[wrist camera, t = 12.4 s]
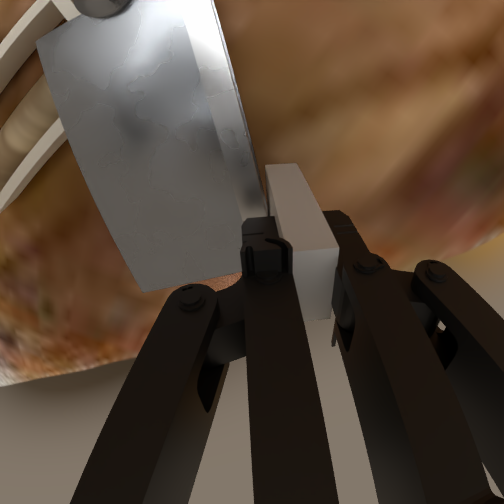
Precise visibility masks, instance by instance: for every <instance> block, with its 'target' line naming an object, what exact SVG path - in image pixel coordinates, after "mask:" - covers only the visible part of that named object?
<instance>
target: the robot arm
mask: <svg viewBox="0 0 504 504" xmlns="http://www.w3.org/2000/svg"><path fill="white" fill-rule="evenodd" d="M265 174H266V192H267V211H268V216H266V217H254V218H247V219H246V220H245V221H244V223H243V224H242V226H241V229H242V247H241V250H240V258H241V267H242V276H241V278H240V279H239V280H238V281H237V282H236V283H235V284H233V285H232V286H230V287H228V288H226V289H223V290H220V291H217V292H215V291H214V290H213V289H212V288H210V287H209V286H207V285H203V284H189V285H185V286H182V287H180V288H178V289H177V290H175V291H173V292H172V294H171V295H170V296H169V297H168V299H167V301H166V302H165V304H164V306H163V308H162V310H161V312H160V314H159V315H158V317H157V319H156V321H155V323H154V325H153V327H152V329H151V331H150V333H149V335H148V336H147V338H146V340H145V342H144V344H143V346H142V348H141V350H140V352H139V354H138V356H137V358H136V360H135V362H134V364H133V366H132V368H131V370H130V372H129V374H128V376H127V378H126V380H125V382H124V384H123V386H122V388H121V391H120V392H119V394H118V397H117V399H116V401H115V403H114V405H113V407H112V409H111V411H110V413H109V415H108V418H107V420H106V422H105V424H104V426H103V428H102V431H101V433H100V435H99V437H98V439H97V442H96V444H95V446H94V449H93V450H92V453H91V455H90V457H89V459H88V462H87V464H86V466H85V469H84V471H83V473H82V476H81V478H80V480H79V483H78V485H77V488H76V490H75V492H74V495H73V497H72V500H71V502H70V504H188V501H189V498H190V495H191V492H192V488H193V485H194V482H195V478H196V475H197V472H198V469H199V465H200V462H201V458H202V455H203V452H204V449H205V445H206V442H207V439H208V435H209V432H210V428H211V425H212V422H213V419H214V415H215V412H216V408H217V405H218V402H219V398H220V395H221V392H222V388H223V385H224V381H225V378H226V375H227V371H228V368H229V362H231V361H234V360H237V359H239V358H242V357H245V356H246V361H247V382H248V401H249V421H250V440H251V457H252V475H253V491H254V504H339V501H338V495H337V489H336V483H335V477H334V471H333V466H332V461H331V454H330V449H329V443H328V439H327V433H326V427H325V422H324V417H323V412H322V407H321V402H320V397H319V392H318V387H317V382H316V377H315V372H314V368H313V363H312V358H311V353H310V348H309V344H308V339H307V334H306V330H305V325H304V322H305V321H314V320H322V319H330V317H331V310H332V308H333V311H334V314H335V317H336V318H335V324H334V330H333V335H332V341H331V342H332V347H333V346H335V343H336V339H337V342H338V345H339V348H340V352H341V355H342V359H343V362H344V366H345V369H346V373H347V376H348V380H349V383H350V387H351V391H352V394H353V398H354V402H355V406H356V409H357V413H358V417H359V421H360V425H361V429H362V433H363V437H364V440H365V445H366V449H367V453H368V457H369V462H370V466H371V470H372V474H373V479H374V483H375V488H376V493H377V498H378V502H379V504H504V499H503V498H501V497H498V496H496V495H495V494H494V493H493V492H492V491H491V489H490V486H489V483H488V480H487V477H486V473H485V471H484V467H483V464H484V466H485V467H486V469H487V470H488V472H489V473H490V475H491V477H492V479H493V480H494V482H495V483H496V485H497V487H498V488H499V490H500V492H501V493H502V495H503V497H504V320H503V318H501V316H500V315H499V314H498V313H497V312H496V311H495V310H494V309H493V308H492V307H491V306H490V305H489V304H488V303H487V302H486V301H485V300H484V299H483V298H482V297H481V296H480V295H479V294H478V293H477V292H476V291H475V290H474V289H473V288H472V287H471V286H470V285H469V284H468V283H466V282H465V281H464V280H463V279H462V278H461V277H460V276H459V275H458V274H457V273H456V272H455V271H454V270H452V269H451V268H450V267H449V266H447V265H446V264H444V263H442V262H439V261H436V260H423V261H421V262H419V263H418V264H417V266H416V268H415V271H414V272H406V271H398V270H393V269H391V268H390V266H389V265H388V263H387V262H386V261H385V260H384V259H383V258H382V257H380V256H378V255H376V254H373V253H370V251H369V250H368V248H367V246H366V245H365V243H364V241H363V239H362V238H361V236H360V234H359V233H358V232H357V229H356V228H355V226H354V224H353V223H352V221H351V219H350V218H349V216H347V215H346V214H344V213H343V212H341V211H340V210H334V211H321V209H320V207H319V205H318V203H317V201H316V199H315V197H314V195H313V193H312V191H311V189H310V187H309V185H308V183H307V182H306V180H305V178H304V176H303V174H302V172H301V170H300V168H299V166H298V165H297V163H287V164H271V165H265ZM440 320H441V321H442V323H443V324H444V325H445V326H446V328H445V330H444V331H443V330H441V329H440V328H439V327H438V323H439V322H440ZM482 463H483V464H482Z"/></svg>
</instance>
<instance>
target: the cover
mask: <svg viewBox="0 0 504 504" xmlns="http://www.w3.org/2000/svg"><path fill="white" fill-rule="evenodd" d="M73 1H74V5H75V7H76V9H77V10H78V11H79V12H80V13H81V14H80V15H79V16H77V17H75V18H73V19H71V20H69V21H68V22H66V23H64V24H62V25H61V26H59V27H57V28H56V29H54V30H52V31H51V32H49V33H48V34H46V35H44V36H43V37H41V38H40V39H38V40H37V41H35V42H36V46H37V50H38V53H39V57H40V60H41V64H42V67H43V70H44V74H45V77H46V80H47V83H48V86H49V89H50V92H51V95H52V98H53V101H54V104H55V107H56V109H57V112H58V115H59V118H60V120H61V123H62V126H63V128H64V131H65V133H66V136H67V139H68V141H69V144H70V146H71V149H72V151H73V153H74V156H75V158H76V161H77V163H78V165H79V168H80V170H81V172H82V175H83V177H84V179H85V181H86V184H87V186H88V188H89V190H90V192H91V194H92V197H93V199H94V201H95V203H96V205H97V207H98V209H99V211H100V213H101V216H102V218H103V220H104V222H105V224H106V226H107V228H108V230H109V232H110V234H111V236H112V237H113V239H114V241H115V243H116V245H117V247H118V249H119V251H120V253H121V255H122V256H123V258H124V260H125V262H126V264H127V266H128V267H129V269H130V271H131V273H132V275H133V276H134V278H135V280H136V282H137V284H138V285H139V287H140V289H141V290H142V292H143V293H145V292H149V291H154V290H159V289H164V288H168V287H173V286H178V285H183V284H187V283H192V282H197V281H201V280H206V279H210V278H215V277H220V276H224V275H229V274H233V273H238V272H242V267H241V258H240V250H241V247H242V229H241V226H242V224H243V223H244V221H245V220H246V219H247V218H254V217H266V216H268V211H267V203H266V199H265V194H264V190H263V186H262V182H261V178H260V174H259V170H258V166H257V162H256V158H255V154H254V150H253V146H252V142H251V138H250V134H249V130H248V126H247V122H246V118H245V114H244V110H243V106H242V103H241V99H240V95H239V91H238V87H237V84H236V80H235V76H234V72H233V69H232V65H231V61H230V58H229V54H228V50H227V47H226V43H225V39H224V36H223V32H222V29H221V25H220V21H219V18H218V14H217V11H216V7H215V4H214V0H73Z"/></svg>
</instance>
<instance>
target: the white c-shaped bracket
mask: <svg viewBox="0 0 504 504" xmlns="http://www.w3.org/2000/svg"><path fill="white" fill-rule="evenodd" d="M80 14H81V13H80V12H79V11H78V10H77V9H76V7H75V5H74V1H73V0H37V1H36V2H35V3H34V4H33V5H32V6H31V7H30V8H29V10H28V11H27V12H26V13H25V14H24V15H23V16H22V18H21V19H20V20H19V21H18V22H17V24H16V25H15V26H14V27H13V28H12V30H11V31H10V32H9V33H8V35H7V36H6V37H5V39H4V40H3V41H2V42H1V44H0V94H1V93H2V91H3V90H4V88H5V87H6V86H7V84H8V83H9V81H10V80H11V79H12V77H13V76H14V75H15V73H16V72H17V71H18V70H19V68H20V67H21V66H22V65H23V63H24V62H25V61H26V60H27V58H28V57H29V56H30V55H31V54H32V53H33V51H34V50H35V49H36V48H37V46H36V42H35V41H37V40H38V39H40V38H41V37H43V36H44V35H46V34H48V33H49V32H51V31H52V30H53V29H54V28H55V27H56V26H57V25H58V24H59V23H60V22H61V21H62V20H63V19H64V18H66V20H67V21H69V20H71V19H73V18H75V17H77V16H79V15H80ZM66 139H67V136H66V133H65V131H64V128H63V126H62V123H61V120H60V118H58V119H57V120H56V121H55V123H54V124H53V125H52V126H51V127H50V128H49V129H48V130H47V132H46V133H45V134H44V135H43V136H42V138H41V139H40V140H39V141H38V142H37V144H36V145H35V146H34V147H33V148H32V150H31V151H30V152H29V153H28V155H27V156H26V157H25V159H24V160H23V161H22V163H21V164H20V165H19V167H18V168H17V169H16V171H15V172H14V173H13V175H12V176H11V177H10V179H9V180H8V182H7V183H6V185H5V186H4V188H3V189H2V190H1V192H0V213H1V212H2V211H3V210H4V209H5V208H6V207H7V206H9V205H10V204H11V203H12V202H13V201H14V200H15V199H16V198H17V197H18V196H19V195H20V193H21V192H22V191H23V190H24V188H25V187H26V186H27V184H28V183H29V182H30V181H31V179H32V178H33V177H34V176H35V175H36V173H37V172H38V171H39V170H40V169H41V167H42V166H43V165H44V164H45V163H46V162H47V160H48V159H49V158H50V157H51V156H52V155H53V154H54V152H55V151H56V150H57V149H58V148H59V147H60V146H61V145H62V144H63V143H64V142H65V141H66Z"/></svg>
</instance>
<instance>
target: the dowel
mask: <svg viewBox="0 0 504 504" xmlns="http://www.w3.org/2000/svg"><path fill="white" fill-rule="evenodd" d="M58 118H59V115H58V112H57V109H56V107H55V104H54V101H53V98H52V95H51V92H50V89H49V86H48V83H47V80H46V77H45V74H43V75H42V76H41V77H40V79H39V80H38V81H37V82H36V83H35V85H34V86H33V87H32V88H31V89H30V91H29V92H28V93H27V94H26V96H25V97H24V98H23V99H22V101H21V102H20V103H19V105H18V106H17V107H16V109H15V110H14V111H13V113H12V114H11V116H10V117H9V118H8V120H7V121H6V123H5V124H4V125H3V127H2V128H1V130H0V192H1V190H2V189H3V188H4V186H5V185H6V183H7V182H8V180H9V179H10V177H11V176H12V175H13V173H14V172H15V171H16V169H17V168H18V167H19V165H20V164H21V163H22V161H23V160H24V159H25V157H26V156H27V155H28V153H29V152H30V151H31V150H32V148H33V147H34V146H35V145H36V144H37V142H38V141H39V140H40V139H41V138H42V136H43V135H44V134H45V133H46V132H47V130H48V129H49V128H50V127H51V126H52V125H53V124H54V123H55V121H56V120H57V119H58Z"/></svg>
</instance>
